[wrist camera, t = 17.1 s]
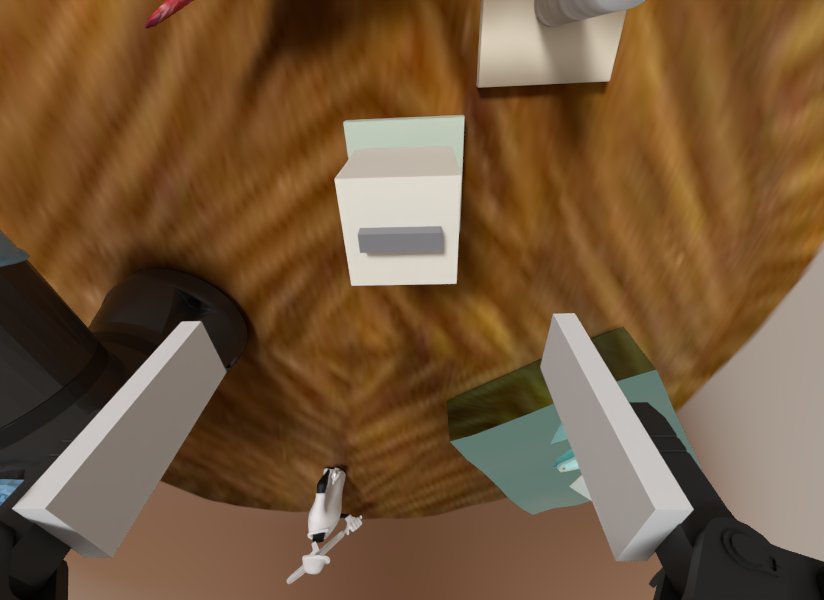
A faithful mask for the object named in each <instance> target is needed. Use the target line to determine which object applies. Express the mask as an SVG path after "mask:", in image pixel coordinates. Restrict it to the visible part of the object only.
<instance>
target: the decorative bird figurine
mask: <svg viewBox="0 0 824 600" xmlns="http://www.w3.org/2000/svg"><path fill="white" fill-rule="evenodd" d="M192 1H194V0H166V1H165V2H164V3H163V4H162V5H161V6H160V7H159V8H158V9H157V10H156V11H155V12H154V13H153V15H152V16H151V17H150V18H149V19H148V21H147V22H146V27H145V28H150V27H154V26H156V25H157V24H158V23H161V22H163V21H164V20H165V19H167V18H169V17H170V16H171V15H173V14H175V13H176V12H177V11H179V10H180V9H182V8H183V7H184V6H186V5H188V4H189V3H190V2H192Z"/></svg>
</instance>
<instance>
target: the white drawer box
mask: <svg viewBox="0 0 824 600" xmlns="http://www.w3.org/2000/svg"><path fill="white" fill-rule="evenodd" d="M461 177H462V175H461V172H460V169H459V166H458V163H457V160H456V157H455V154H454V151H453V148H452V146H426V147H395V148H364V149H356V150H355V151H354V153H353V154H352V156H351V157H350V158H349V160H348V161H347V162H346V164H345V165H344V167H343V168H342V169H341V171H340V172H339V173H338V175H337V176H336V178H335V186H336V192H337V198H338V204H339V210H340V217H341V223H342V229H343V235H344V241H345V248H346V254H347V260H348V266H349V273H350V279H351V285H352V286H355V285H415V284H457V263H458V241H459V220H460V198H461Z"/></svg>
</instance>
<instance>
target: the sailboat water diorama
mask: <svg viewBox="0 0 824 600" xmlns="http://www.w3.org/2000/svg"><path fill="white" fill-rule="evenodd" d="M590 340H591V341H592V343H593V345H594V346H595V348H596V349H597V351H598V353H599V354H600V356H601V358H602V359H603V361H604V363H605V364H606V366H607V368H608V369H609V371H610V372H611V374H612V376H613V377H614V379H615V381H616V382H617V384H618V386H619V387H620V389H621V391H622V392H623V394H624V396H625V397H626V399H627V400H628V402H648V403H649V404H650V405H651V406H652V407H654V408H655V409H656V410H657V411H658V412H659V413H661V414H662V415H663V416H664V417H665V418H666V419H667V421H668V422H669V424H670V425H671V427H672V428H673V430H674V431H675V433H676V434H677V438H679V439H680V440H681V441H682V443H683V444H684V446H685V447H686V449H687V452H688V453H690V455H691V456H692V458H693V459H694V460H695V462H696V463H697V465H698V466H699V468H700V469H701V471H702V468H701V466H700V464H699V462H698V460H697V457H696V455H695V453H694V452H693V450H692V447H691V446H690V444H689V442H688V440H687V437H686V435H685V433H684V431H683V429H682V427H681V424H680V422H679V420H678V418H677V416H676V414H675V411H674V409H673V407H672V405H671V402H670V400H669V397H668V395H667V392H666V390H665V388H664V385H663V383H662V381H661V379H660V377H659V375H658V372H657V370H656V369H655V367H654V366H653V365H652V363H651V362H650V361H649V359H648V358H647V357H646V355H645V354H644V353H643V352H642V350H641V349H640V348H639V346H638V345H637V344H636V342H635V341H634V340H633V338H632V337H631V336H630V334H629V333H628V332H627V331H626V329H625V328H624V327H622V328H619V329H616V330H613V331H611V332H608V333H605V334H602V335H599V336H597V337H594V338H591V339H590ZM541 362H542V359H540V360H537V361H535V362H533V363H531V364H529V365H527V366H524V367H522V368H520V369H518V370H515V371H513V372H511V373H509V374H507V375H504V376H502V377H500V378H498V379H495V380H493V381H491V382H488V383H486V384H484V385H482V386H479V387H477V388H475V389H473V390H470V391H467V392H465V393H462V394H460V395H457V396H455V397H453V398H451V399H448V400H447V409H448V422H449V436H450V442H451V443H452V444H453V445H454V446H455V447H456V448H457V450H458V451H459V452H460V453H461V454H462V455H463V456H464V457H465V458H466V459H467V460H468V461H469V462H471V463H472V464H473V465H475V466H476V467H477V468H478V469H480V470H481V471H482V472H483V473H484V474H485V475H486V476H487V477H489V478H490V479H491V480H492V481H493V482H494V483H495V484H496V485H497V486H498V487H499V488H500V489H501V490H502V491H503V492H504V494H505V495H506V496H507V497H508V498H509V499H510V500H511V501H513V502H514V503H515V504H517V505H518V506H519V507H520V508H522V509H523V510H525V511H527V512H529V513H530V514H532V515H534V514H537V513H540V512H543V511H546V510H549V509H552V508H559V507H566V506H574V505H578V504H581V503H585V502H589V501H592V499H591V497H590V494H589V492H588V489H587V486H586V484H585V481H584V479H583V476H582V474H581V471H580V469H579V466H578V463H577V461H576V458H575V456H574V453H573V451H572V448H571V445H570V443H569V440H568V438H567V435H566V433H565V430H564V427H563V425H562V422H561V420H560V417H559V415H558V412H557V409H556V407H555V404H554V402H553V399H552V397H551V394H550V391H549V389H548V386H547V384H546V381H545V379H544V376H543V374H542V371H541V368H540V366H541ZM541 408H542V409H541Z"/></svg>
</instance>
